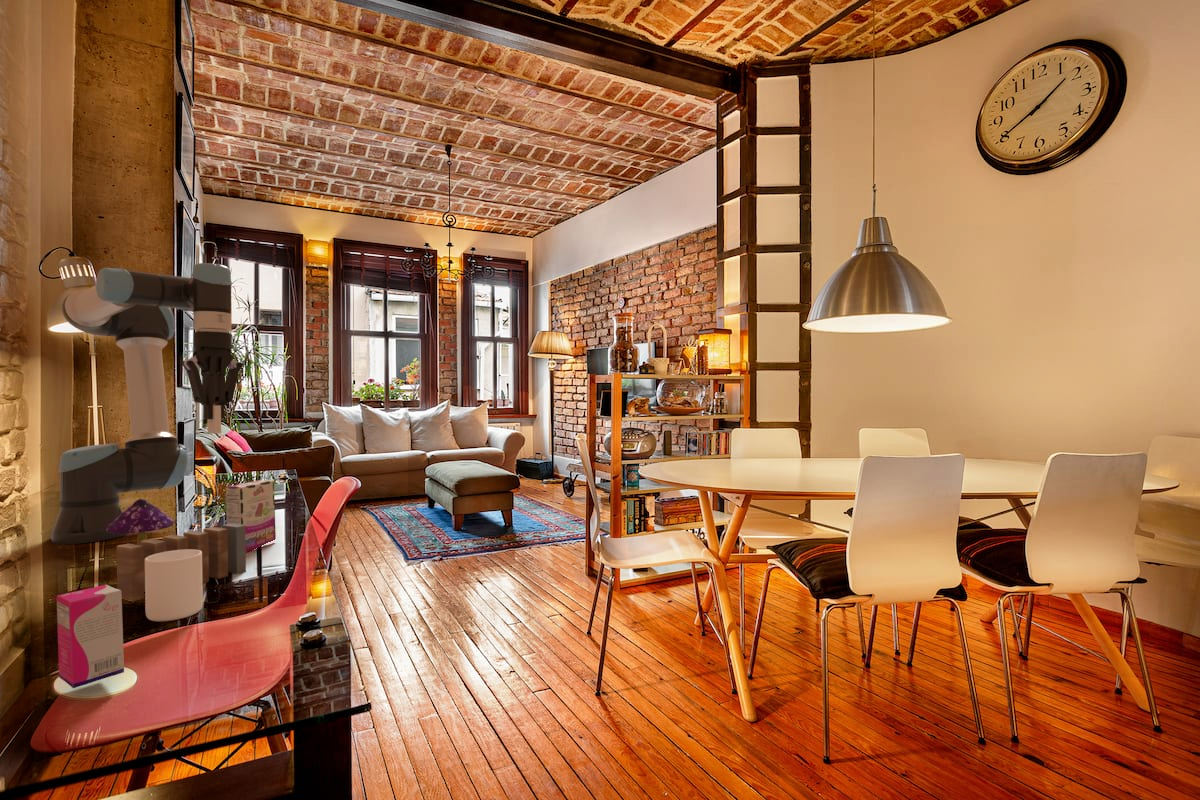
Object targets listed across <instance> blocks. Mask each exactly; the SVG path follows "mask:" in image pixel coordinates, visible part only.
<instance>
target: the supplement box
mask: <svg viewBox="0 0 1200 800" xmlns="http://www.w3.org/2000/svg"><path fill="white" fill-rule="evenodd" d="M122 603H123V600H122V595H121V590H118V589H117V588H115V587H112V586H110V585H108V584H102V585H98V586H93V587H89V588H84V589H80V590H76V591H71V592H67V593H63V594H57V595H56V617H57V618H56V620H57V623H56V624H57V648H58V649H57V650H58V651H57V654H58V677H59V678H60V679H61V680H63V682H65V683H66V684H68V686H70V687H71V688H72V689H75V688H80V687H82V686H85V685H88V684H89V685H90V684H92V683H94V682H97V681H101V680H103V679H107V678H111V677H113V676H117V675H120V674H123V673H124V672H125V662H124V661H125V660H124V659H125V658H124V655H125V654H124V653H125V652H124V651H125V650H124V628H123V604H122Z"/></svg>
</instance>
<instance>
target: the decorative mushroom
mask: <svg viewBox="0 0 1200 800" xmlns="http://www.w3.org/2000/svg"><path fill="white" fill-rule="evenodd" d="M122 512H123V513H122V514H121V515H119V516H118V517H117V518H116V519H115V520H114V521H113V522H112V523H111V524H110V525H109V526H108V527H107V528H106V530H107V531H108V532H109V533H113V534H126V535H129V534H137V539H136V545H140V541H144V540H148V532H153V531H159V530H163V529H167V528H170V527H172V526H173V525H174V524H175V523H176V522H175V520H174V519H173V518H172V517H170V516H169V515H168V514H166V513H165V512H164V511H163V510H161V508H159V507H157V506H155V505H153V504H152V503H150V502H148V500H147V499H145V498H139V499H136V500H135V501H134V502H133V504H132V505H130V506H129V507H127V508H126V509H125V510H124V511H122Z"/></svg>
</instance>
